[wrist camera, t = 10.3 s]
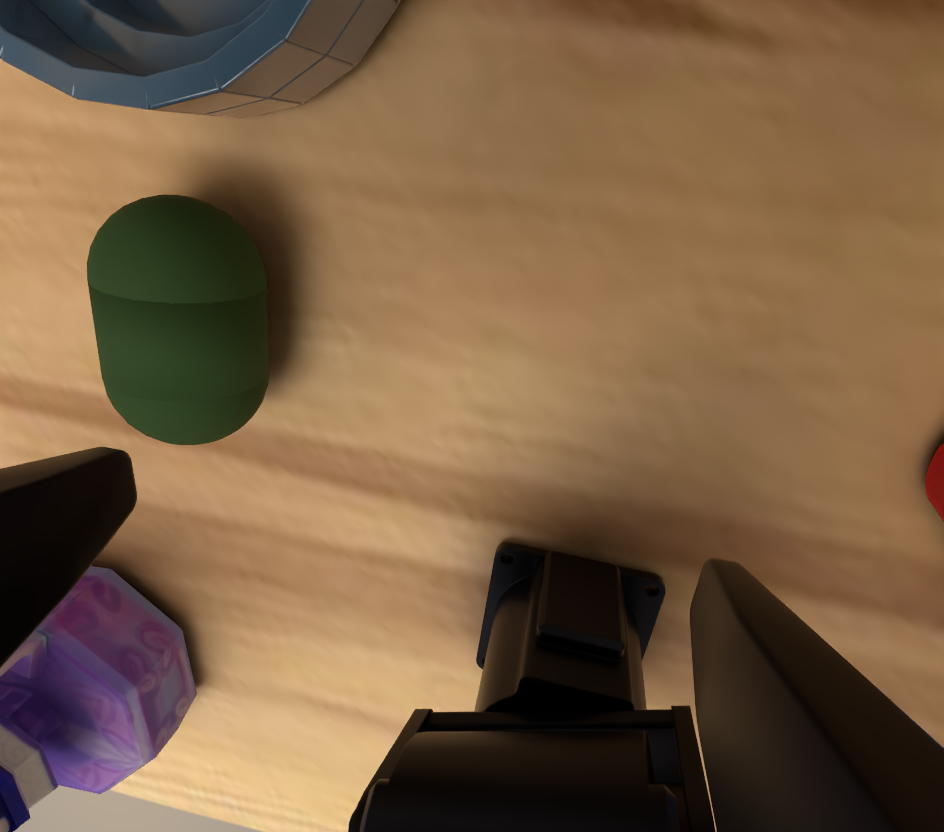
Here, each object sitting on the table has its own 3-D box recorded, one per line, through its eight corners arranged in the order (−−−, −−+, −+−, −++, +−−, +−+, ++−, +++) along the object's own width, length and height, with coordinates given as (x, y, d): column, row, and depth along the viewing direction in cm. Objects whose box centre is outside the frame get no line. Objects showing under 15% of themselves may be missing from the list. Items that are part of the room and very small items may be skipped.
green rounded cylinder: (297, 425, 22) (207, 489, 18) (185, 395, 24) (74, 449, 19) (297, 204, 19) (187, 216, 15) (167, 180, 20) (27, 185, 16)
